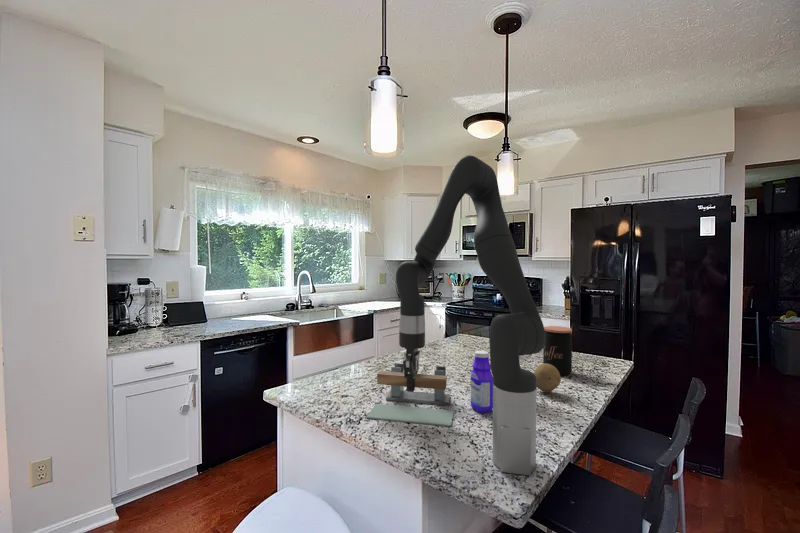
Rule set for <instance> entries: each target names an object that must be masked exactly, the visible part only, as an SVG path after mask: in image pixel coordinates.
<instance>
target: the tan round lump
mask: <svg viewBox="0 0 800 533" xmlns="http://www.w3.org/2000/svg"><path fill="white" fill-rule="evenodd" d="M533 373H534V374H535V376H536V379H537V388H538V389H539V390H540V391H541V392H544V393H546V394H547V393H549V394H550V393H551V392H552V391H554V390H555V389H557V388H558V387H559V385H560V383H561V376H560V374H559V371H558V370H557V369H556V368H555V367H554V366H553V365H551V364H546V363H544V364H543V363H541V364H539V365H538V366H537V367H536V368H535V370H534V371H533Z"/></svg>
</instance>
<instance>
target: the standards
mask: <svg viewBox="0 0 800 533" xmlns="http://www.w3.org/2000/svg"><path fill="white" fill-rule="evenodd" d="M393 365H394V366H391V367H390V369H391V371H390V372H400V373H404V367H403V363H399V362H394V364H393ZM435 368H436V369H434V374H433V375H440V376H447V374H446V370H447V369H446V368H447V367H446V366H443V365H436V366H435ZM404 388H405V386H393V385H390V391H389V392H388V393H387V395H386V396H385V400H386V401H391V402H404V403H413V404H414V403H415V404H426V405H435V404H436V406H437V405H439V406H446V405H448V406H449V405H450V401H451V394H448V393H446V390H441V389H433V390H434V392H423V391H414V392H408V391H407V390H404Z"/></svg>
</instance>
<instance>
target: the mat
mask: <svg viewBox="0 0 800 533" xmlns="http://www.w3.org/2000/svg"><path fill="white" fill-rule="evenodd" d="M454 413H455V410H450V409H439V408H430V407H429V408H427V407H417V406H406V405H405V406H404V405H398V404H397V405H396V404H395V405H394V404H383V403H375V405H374V406H373V407H372V409H371V410H370V411H369V413H368V414H367V415H366V419H370V420H380V421H381V420H382V421H391V422H399V423H400V422H401V423H410V424H411V423H412V424H419V425H420V424H421V425H429V426H431V425H432V426H439V425H440V426H441V427H449V426H451V427H452V425H453V420H452V419H454V415H455V414H454Z"/></svg>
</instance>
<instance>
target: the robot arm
mask: <svg viewBox="0 0 800 533" xmlns="http://www.w3.org/2000/svg"><path fill="white" fill-rule="evenodd" d="M465 194H466V195H467V196H469V198H471V201H472V204H473V207H474V210H475V212H476V218H477V220H476V224H475V229H474V235H473V244H474V248H475V249H474V250H475V254H476V255H477V261H478V264H479V266H480V268H481V270H482V271H483V273H484V275H486V276H487V278H488V279H489V280H490V281H491V282H492V283H493V284H494V286H495V287H496V288H497V289H498V290H499V291H500V293H501V294H502V296H503V298H504V299H505V301H506V303H507V305H508V308H509V311H510V313H503V314H498V315H495V317H493V318H494V319H493V318H492V320H491V323H490V325H489V343H488V344H489V363H490V366H491V369H490V371H491V373H492V376H493V409H492V463H493V465H495V466H496V467H497V468H498V469H499V471H500V473H506V474H507V473H508V474H516V475H524V476H531V475H532V473H533V471H535V469H536V467H537V465H536V464H537V396H538V395H537V379H536V376H535V374H534V372H532V371H531V370H527V369H525V368H522V367H521V362H520V356H527V355H533V354H540V352H541V351H543V348H544V346H545V341H546V335H545V329H544V327H545V324H544V323H543V320H542V317H541V315H540V312H539V310H538V308H537V305H536V303H535V301H534V299H533V297H532V293H531V291H530V288H529V286H528V284H527V280H526V277H525V274H524V272H523V270H522V265H521V263H520V259H519V256H518V252H517V247H516V245H515V242H514V239H513V235H512V232H511V230H510V226H509V223H508V220H507V216H506V214H505V211H504V208H503V205H502V201H501V195H500V194H501V193H500V189H499V183H498V178H497V174H496V171H495V170H494V169H493V167H492V166H490V165H489V164H487V163H486V162H484V161H483V160H481V159H480V158H478V157H476V156H474V155H470V154H469V155H465V156H463V157H461V158H459V159H458V160H457V161H456V163H455V165H454V166H453V168H452V170H451V172H450V174H449V176H448V178H447V181H446V182H445V184H444V188H443V190H442V193H441V195H440V197H439V200H438V202H437V205H436V207H435V210H434V211H433V215H432V216H431V219H430V220H429V222H428V224H427V226H426V228H425V229H424V230H423V233H422V234H421V236H420V237H419V239H418V241H417V243H416V245H414V251H415V253H416V254H415V257H414V259H413V260H412V261H410V260H409V261H407V260H406V261H403V262H401V263H400V264H399V265H398V267H397V269H396V274H395V281H396V286H397V292H398V295H399V299H400V302H399V303H400V306H399V307H400V309H399V310H400V312H399V315H400V316H399V323H398V324H399V325H398V326H399V327H398V329H399V330H398V331H399V332H398V334H399V336H398V339H399V340H398V342H399V343H398V345H399V347H401V348H403V349H406V351H405V353H404V354H403V361H402V364H403V367H404V377H405V378H407V387H406V391H408V392H415V388H417V387H415V374H419V372H418V371H419V370H420V357H421V351H420V350H419V349H422V348H424V347H425V346H426V319H425V297H424V296H423V295H422V294H420V290H419V286H420V285H423V284H424V283H425V282H426V281H427V280H428V279H429V277H430V276H431V274H432V271H433V269H434V267H435V264H436V260H437V258H438V256H439V255H440V254H441V252H442V251H443V249H444V247H445V246H446V244H447V243H448V240H449V239H450V236H451V234H452V229H453V224H454V216H455V214H456V209H457V207H458V205H459V203H460V201H461V200H462V198H463V197H464V196H465ZM408 373H411V374H408Z"/></svg>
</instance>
